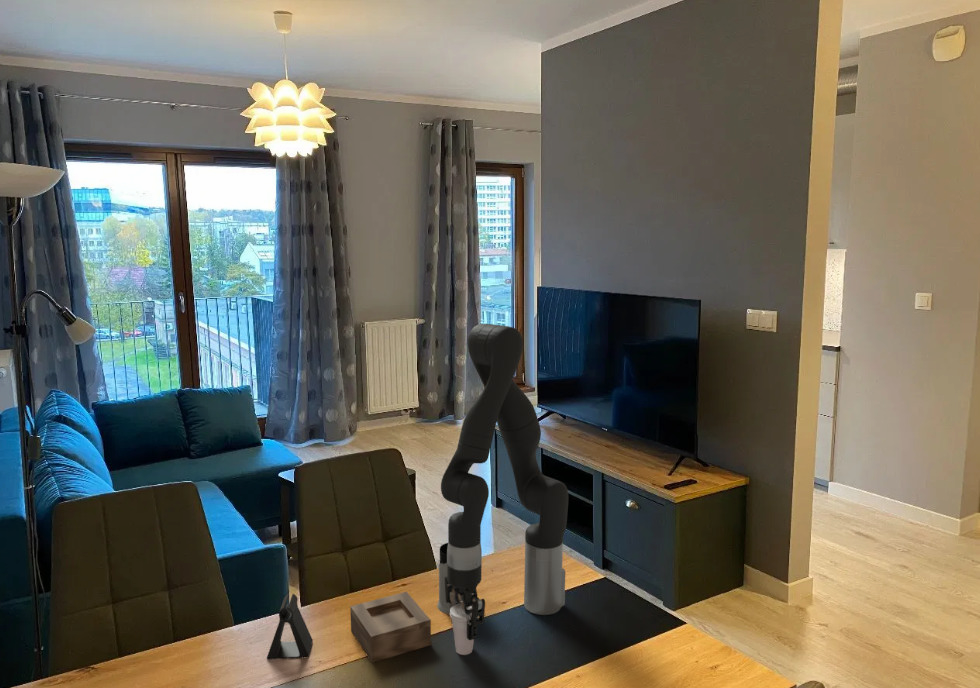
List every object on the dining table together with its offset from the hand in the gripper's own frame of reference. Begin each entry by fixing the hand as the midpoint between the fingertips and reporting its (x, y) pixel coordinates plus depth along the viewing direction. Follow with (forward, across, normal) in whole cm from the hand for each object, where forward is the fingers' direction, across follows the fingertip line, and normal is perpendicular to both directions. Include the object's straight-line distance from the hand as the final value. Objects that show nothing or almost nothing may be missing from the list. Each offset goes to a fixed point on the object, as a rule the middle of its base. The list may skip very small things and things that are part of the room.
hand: (464, 630), depth 162 cm
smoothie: (+5, 0, 0) cm, 5 cm away
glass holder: (+5, +19, -10) cm, 22 cm away
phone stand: (+5, +20, +33) cm, 39 cm away
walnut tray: (+5, +13, +12) cm, 18 cm away
